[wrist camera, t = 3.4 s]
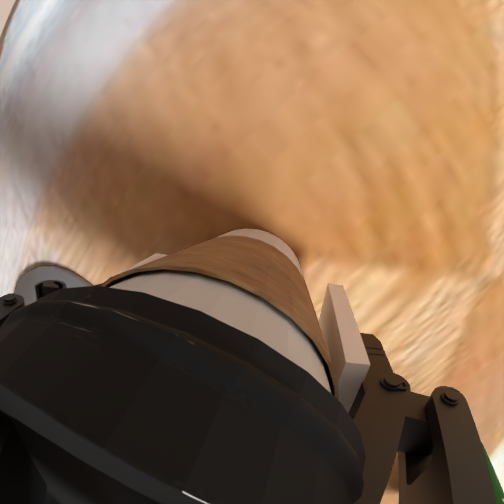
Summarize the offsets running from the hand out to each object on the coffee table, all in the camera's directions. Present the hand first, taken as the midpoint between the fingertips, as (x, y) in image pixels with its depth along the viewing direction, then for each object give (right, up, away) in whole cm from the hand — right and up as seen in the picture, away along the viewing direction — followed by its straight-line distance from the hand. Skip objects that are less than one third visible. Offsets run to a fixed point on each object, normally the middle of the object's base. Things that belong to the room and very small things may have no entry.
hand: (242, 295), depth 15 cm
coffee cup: (0, +1, +2) cm, 2 cm away
